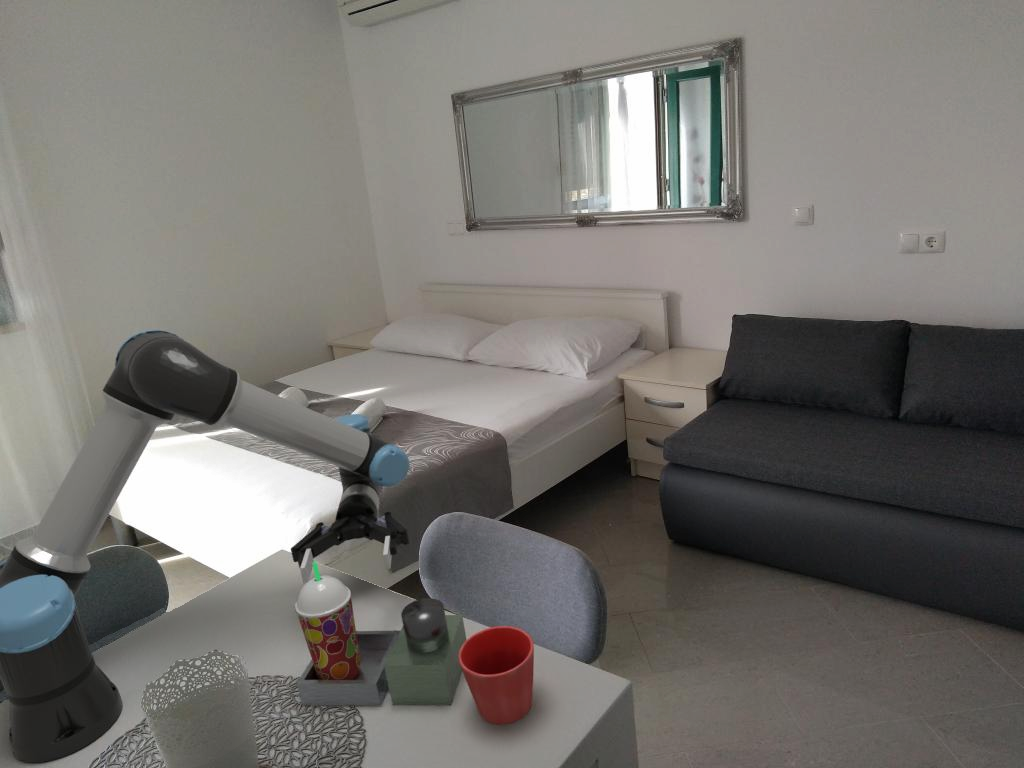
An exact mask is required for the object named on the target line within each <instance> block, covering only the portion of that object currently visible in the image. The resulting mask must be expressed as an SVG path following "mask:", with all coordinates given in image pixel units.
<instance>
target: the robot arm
mask: <svg viewBox="0 0 1024 768" xmlns="http://www.w3.org/2000/svg"><path fill="white" fill-rule="evenodd" d="M101 393H102V395H103V398H104V401H105V406H104V408H103V409H102V411H101V413H100V415H99V416H98V418H97V420H96V422H95V424H94V426H93V427H92V429H91V430H90V432H89V434H88V435H87V437H86V440H85V441H84V443H83V445H82V447H81V448H80V449H79V452H78V454H77V456H76V458H75V459H74V461H73V463H72V465H70V468H69V469H68V471H67V473H66V475H65V477H64V479H63V481H62V482H61V484H60V486H59V488H58V490H57V491H56V493H55V495H54V497H52V501H51V502H50V504H49V506H48V507H47V509H46V511H45V512H44V515H43V516H42V518H41V520H40V521H39V523H38V525H37V526H36V529H35V531H34V533H33V534H32V535H30V536H28V537H25V538H22V539H20V540H18V541H17V542H16V543H15V546H14V547H13V549H12V550H11V552H10V554H9V555H8V557H7V558H5V559H4V560H2V562H1V563H0V681H1V683H2V686H3V688H4V691H5V693H6V697H7V699H8V702H9V721H10V728H9V732H8V741H9V744H10V745H9V746H10V747H11V750H12V752H13V754H14V756H15V758H17V759H18V760H20V761H23V762H26V763H42V762H43V763H44V762H49V761H53V760H57V759H60V758H62V757H66V756H68V755H70V754H73V753H75V752H77V751H79V750H80V749H83V748H85V747H86V746H89V744H91V743H93V742H94V741H96V740H97V739H98V738H100V737H101V736H102V735H104V734H105V733H106V732H107V731H108V730H109V729H110V728H111V727H112V726H113V725H114V724H115V722H116V721H117V720H118V718H119V717H120V715H121V714H122V713H121V712H122V710H123V699H122V696H121V694H120V690H119V689H118V687H117V686H116V685H115V683H114V682H112V681H111V679H110V678H109V677H108V676H107V674H105V672H103V670H102V669H101V668H100V667H99V666H98V665H97V664H96V662H95V661H96V660H95V657H94V656H93V655H94V654H93V653H92V649H91V647H90V644H89V641H88V638H87V636H86V635H87V634H86V633H85V629H84V627H83V623H82V621H81V618H80V614H79V611H78V607H77V603H76V599H75V597H76V595H77V593H78V591H79V590H80V588H81V586H82V584H83V582H84V581H85V578H86V577H87V574H88V573H89V571H90V570H91V568H92V567H91V566H92V565H91V563H90V560H89V557H88V552H89V550H91V547H92V546H93V544H94V542H95V540H96V538H97V536H98V535H99V533H100V531H101V529H102V528H103V525H104V524H105V522H106V520H107V518H108V516H109V515H110V512H111V511H112V510H113V508H114V506H115V505H116V501H118V498H119V496H120V495H121V492H123V489H124V487H125V486H126V484H127V482H128V480H129V478H130V476H131V475H132V472H133V470H134V469H135V467H136V465H137V463H138V462H139V460H140V458H141V457H142V454H143V453H144V451H145V449H146V447H147V445H148V444H149V442H150V440H151V438H152V436H153V435H154V433H155V431H156V429H157V428H158V427H159V426H161V425H165V424H167V423H171V421H172V419H173V418H174V416H175V415H178V416H181V417H183V418H188V419H190V420H194V421H196V422H200V423H203V424H206V425H209V426H212V427H214V426H217V425H219V424H224V425H227V426H229V427H232V428H235V429H238V430H239V431H243V432H246V433H248V434H250V435H254V436H256V437H258V438H262V439H264V440H267V441H269V442H272V443H274V444H276V445H277V444H278V445H280V446H283V447H285V448H288V449H290V450H293V451H296V452H297V453H298V452H299V453H301V454H304V455H305V456H306V455H307V456H309V457H312V458H314V459H316V460H320V461H322V462H325V463H327V464H329V465H330V464H331V465H333V466H336V467H338V472H339V478H340V481H341V487H342V493H341V495H340V496H341V497H340V501H339V504H338V507H337V512H336V515H335V518H334V519H335V520H334V522H332V523H331V525H325V524H324V522H318V523H317V524H316V525H315V527H314V529H312V530H311V531H309V532H308V533H307V534H306V535H305V536H303V537H302V538H301V539H300V540H299V541H297V542H296V543H295V544H294V545H293V546H292V547H291V548H290V551H291V552H290V553H291V555H292V556H291V557H292V561H293V563H298V567H299V570H300V574H301V579H302V582H303V584H306V583H307V582H308V581H309V580H310V577H311V573H312V569H313V564H312V563H314V562H315V561H314V559H315V558H317V557H318V556H320V555H321V554H323V553H324V552H326V551H328V550H330V549H331V548H332V547H334V546H337V547H338V546H340V545H342V544H343V543H344V542H345V543H346V541H351V540H355V539H356V540H357V539H365V538H366V539H367V540H370V541H372V540H373V541H374V540H375V541H377V542H379V543H382V544H384V545H383V551H382V552H383V553H382V557H383V561H384V567H385V570H390V569H391V568H392V567H391V566H392V557H393V555H395V556H396V555H397V554H398V553H399V547H400V545H404V546H405V545H406V546H407V545H408V544H410V538H409V533H408V529H407V528H406V527H405V526H403V525H402V524H401V523H400V522H398V520H396V519H395V518H394V517H392V512H391V511H386V512H384V515H382V516H380V517H378V515H379V514H378V513H379V507H380V502H381V501H380V500H381V495H382V490H383V488H393V487H395V486H398V485H399V484H400V483H402V482H403V481H404V480H405V478H406V477H407V475H408V473H409V469H410V460H409V457H408V455H407V453H406V452H405V451H404V450H402V449H401V448H400V447H399V446H398V445H395V444H392V443H390V442H388V441H386V440H385V439H382V438H381V437H379V436H378V435H376V434H375V433H372V432H371V425H370V424H369V421H368V418H367V416H366V415H365V414H364V415H363V414H362V413H361V414H360V413H355V414H354V413H353V414H351V413H350V414H348V415H347V414H346V415H343V416H340V417H337V418H336V419H334V418H332V417H330V416H327V415H324V414H322V413H320V412H317V411H315V410H313V409H310V408H308V407H306V406H303V405H301V404H299V403H296V402H294V401H292V400H289V399H287V398H285V397H282V396H280V395H278V394H275V393H272V392H270V391H268V390H265V389H264V388H262V387H259V386H257V385H255V384H251V383H250V382H247V381H244V380H242V379H241V376H240V373H239V372H238V371H237V370H235V369H232V368H230V367H228V366H227V365H226V366H225V365H223V364H222V363H220V362H218V361H216V360H215V359H213V358H212V357H210V356H208V355H207V354H206V353H204V352H203V351H201V350H200V349H198V348H197V347H195V346H194V345H193V344H191V343H189V342H188V341H186V340H184V339H183V338H182V337H180V336H178V335H177V334H176V333H172V332H169V331H167V330H162V329H161V330H160V329H150V330H149V329H148V330H143V331H140V332H136V333H135V334H132V335H131V336H130V337H128V338H126V340H125V341H124V342H122V344H121V346H120V347H119V348H118V351H117V353H116V357H115V365H114V369H113V371H112V372H111V374H110V376H109V378H108V380H107V381H106V384H105V385H104V387H103V389H102V391H101Z"/></svg>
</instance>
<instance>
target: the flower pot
mask: <svg viewBox="0 0 1024 768" xmlns="http://www.w3.org/2000/svg"><path fill="white" fill-rule="evenodd" d="M534 647H535V646H534V642H533V638H532V637H531V636H530V634H529V633H527V632H526V631H525V630H523V629H521V628H519V627H516V626H515V627H514V626H509V625H508V626H507V625H501V626H500V625H499V626H493V627H489V628H484V629H483V630H480V631H477V632H475V633H474V634H472V635H471V636H470V637H468V638H466V641H465V643H464V644H463V645H462V647H461V649H460V652H459V663H460V666H461V669H462V673H463V674H462V675H463V676H464V678H465V681H466V683H467V686H468V689H469V691H470V694H471V696H472V698H473V701H474V704H475V705H476V708H477V710H478V712H479V715H480V717H482V718H483V720H485V722H488V723H489V724H492V725H493V724H494V725H501V726H503V725H508V724H512V723H515V722H518V721H520V720H521V719H523V717H524V716H525V715H527V714H528V713H529V711H530V710H531V707H532V704H533V694H534V692H533V691H534V671H535V670H534V663H535V662H534V660H535V656H534V655H535V653H534V652H535V651H534V650H535V648H534Z"/></svg>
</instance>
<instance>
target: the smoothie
mask: <svg viewBox="0 0 1024 768" xmlns="http://www.w3.org/2000/svg"><path fill="white" fill-rule="evenodd" d="M312 564H313V567H312V569H313V571H314V576H315V577H313V578H311V579H309V581H308V582H306V583H304V584H303V586H302V587H301V589H300V592H299V594H298V596H297V600H296V602H295V604H294V611H295V613H296V615H297V618H298V621H299V625H300V627H301V631H302V634H303V636H304V639H305V642H306V646H307V648H308V651H309V654H310V657H311V660H312V661H313V664H314V667H315V670H316V673H317V676H318V678H319V679H320V680H353V679H354V678H355V677H356V676H357V675H358V672H359V668H360V665H361V661H360V654H359V648H358V641H357V634H356V631H357V629H356V621H355V616H354V615H355V614H354V609H353V603H352V592H351V589H350V588H349V587H348V586H346V585H345V584H344V583H343V582H342V581H341V580H340V579H339V578H337V577H334V576H332V575H326V574H325V575H320V571H319V566H318V563H317V561H314V563H312Z"/></svg>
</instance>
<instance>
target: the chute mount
mask: <svg viewBox="0 0 1024 768" xmlns="http://www.w3.org/2000/svg"><path fill="white" fill-rule="evenodd" d="M400 615H401V617H400V618H401V620H402V627H401V629H400V630H356V634H357V641H358V648H359V654H360V661H361V665H360V668H359V672H358V675H357V676H356V677H355V678H354V679H353V680H320V679H319V678H318V676H317V673H316V670H315V667H314V664H313V661H312V659H311V660H310V661H309V663H308V664H307V666H306V668H305V669H304V671H303V673H302V674H301V676H300V678H298V681H297V682H296V686H297V690H298V696H299V698H300V699H299V700H300V702H301V706H302V705H320V706H319V707H321V705H323V706H324V707H325V706H326V707H327V706H328V707H382V705H383V702H384V701H385V698H386V696H387V694H388V692H389V694H390V699H391V703H392V706H452V704H453V700H454V698H455V695H456V692H457V689H458V686H459V683H460V680H461V676H462V675H463V674H462V673H463V671H462V669H461V666H460V663H459V652H460V649H461V647H462V645H463V644H464V643H465V641H466V640H467V635H466V629H465V623H464V617H463V614H446V610H445V605H444V603H443V602H442V601H440V600H439V599H436V598H431V597H428V598H427V597H425V598H420V599H417V600H414V601H411V602H410V603H408V604H407V605H405V607H404V608H403V609H402V610H401V614H400ZM323 706H322V707H323Z"/></svg>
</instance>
